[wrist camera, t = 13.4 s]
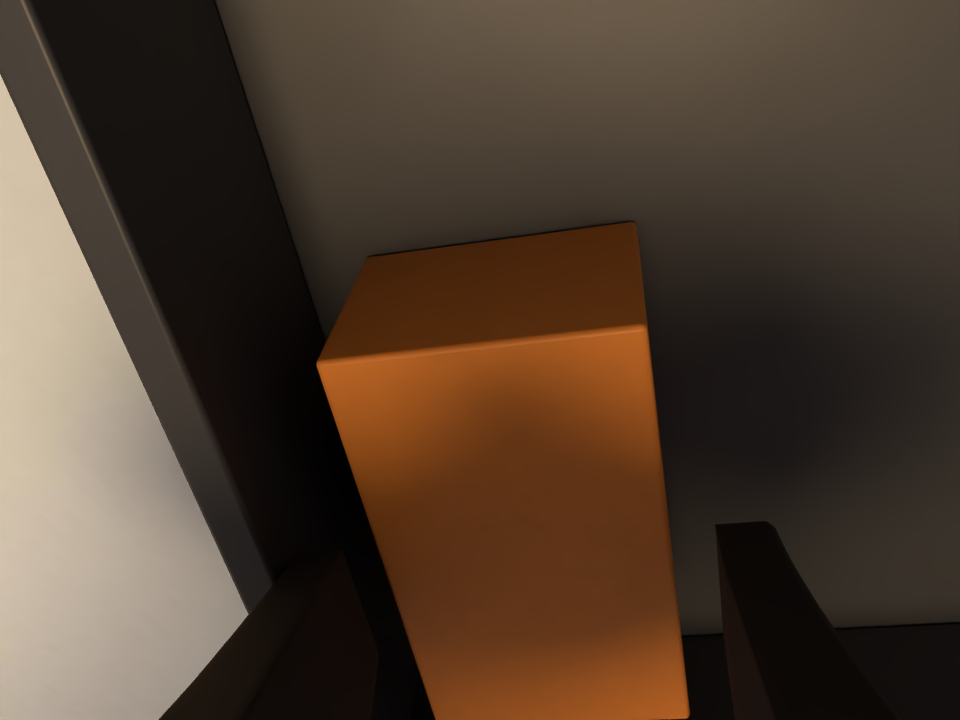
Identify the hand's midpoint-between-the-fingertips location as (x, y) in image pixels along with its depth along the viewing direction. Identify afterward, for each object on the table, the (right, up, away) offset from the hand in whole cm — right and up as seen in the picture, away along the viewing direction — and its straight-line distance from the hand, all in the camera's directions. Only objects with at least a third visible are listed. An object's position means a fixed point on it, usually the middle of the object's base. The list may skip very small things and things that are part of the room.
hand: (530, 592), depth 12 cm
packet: (0, +2, +3) cm, 4 cm away
